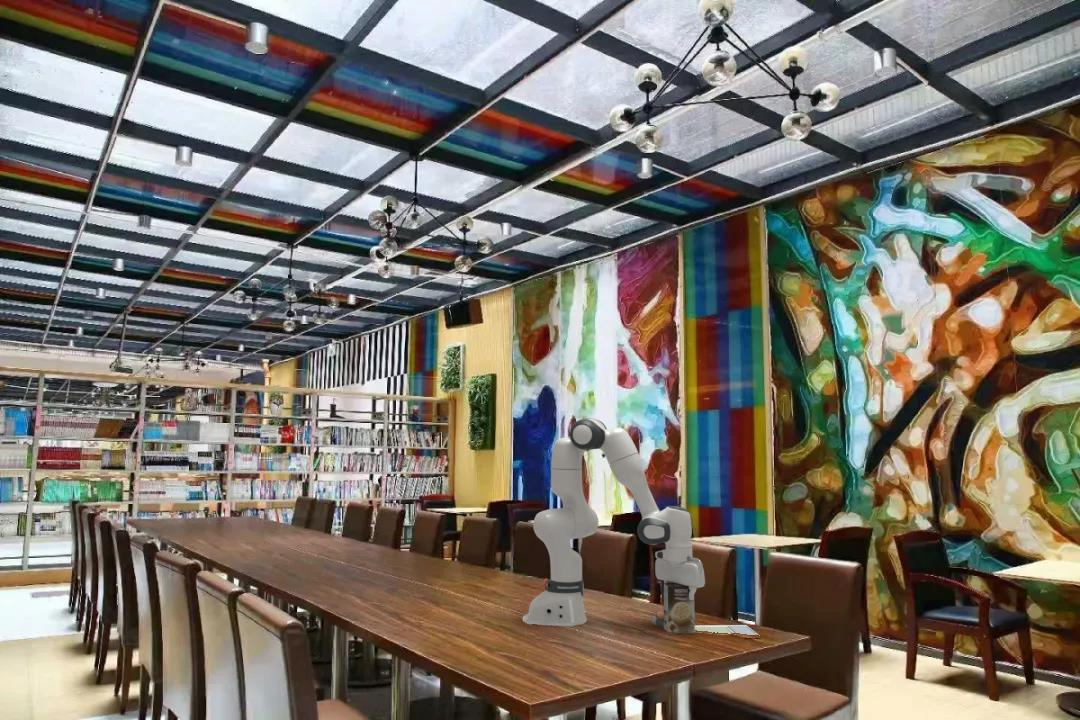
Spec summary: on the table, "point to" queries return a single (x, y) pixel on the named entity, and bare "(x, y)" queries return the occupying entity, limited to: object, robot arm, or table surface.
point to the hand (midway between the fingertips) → (680, 597)
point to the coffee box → (678, 609)
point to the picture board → (726, 629)
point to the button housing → (657, 621)
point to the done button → (660, 615)
